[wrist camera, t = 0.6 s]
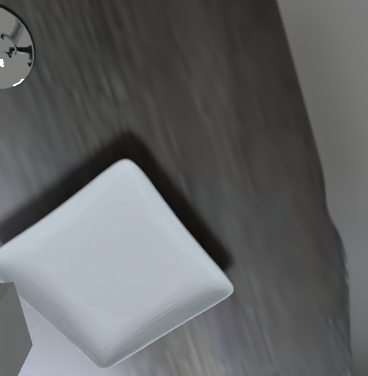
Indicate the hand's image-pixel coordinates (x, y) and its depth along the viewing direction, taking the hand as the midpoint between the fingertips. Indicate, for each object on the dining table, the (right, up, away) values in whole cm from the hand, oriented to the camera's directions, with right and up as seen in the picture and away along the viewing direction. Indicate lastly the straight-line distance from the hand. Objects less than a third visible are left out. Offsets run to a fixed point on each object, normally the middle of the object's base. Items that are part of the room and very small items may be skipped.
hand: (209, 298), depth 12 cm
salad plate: (-9, -5, +30) cm, 32 cm away
